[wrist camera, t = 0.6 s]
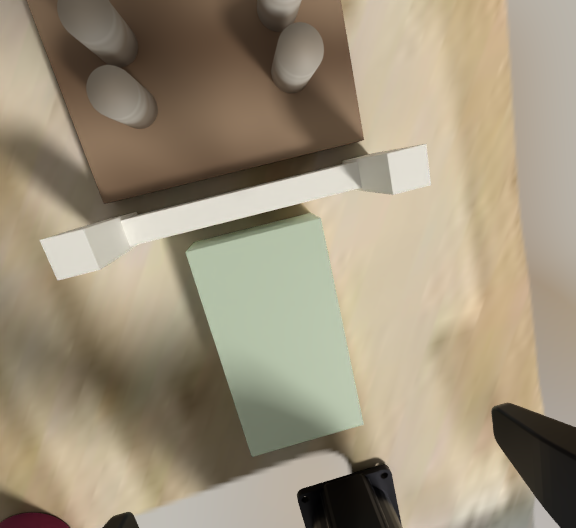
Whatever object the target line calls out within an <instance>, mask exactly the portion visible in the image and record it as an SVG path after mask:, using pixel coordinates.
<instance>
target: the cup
mask: <svg viewBox="0 0 576 528" xmlns="http://www.w3.org/2000/svg"><path fill="white" fill-rule="evenodd" d="M0 528H69V526H68V525H67V524H65V523H64V522H63V521H62V520H60V519H58V518H56V517H54V516H51V515H48V514H43V513H31V512H30V513H21V514H18V515H14V516H11V517H9V518H7V519H5V520H4V521H2V522H1V523H0Z"/></svg>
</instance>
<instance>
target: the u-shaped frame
mask: <svg viewBox="0 0 576 528" xmlns="http://www.w3.org/2000/svg"><path fill="white" fill-rule="evenodd" d="M342 163H343V164H340V165H336V166H331V167H327V168H323V169H319V170H315V171H311V172H307V173H303V174H299V175H295V176H291V177H287V178H283V179H279V180H275V181H271V182H267V183H263V184H259V185H255V186H251V187H247V188H243V189H239V190H235V191H231V192H227V193H223V194H219V195H215V196H211V197H207V198H203V199H199V200H195V201H191V202H187V203H183V204H179V205H175V206H171V207H166V208H162V209H158V210H154V211H150V212H146V213H142V214H138V215H137V212H134V213H130V214H126V215H122V216H118V217H114V218H110V219H106V220H103V221H100V222H96V223H93V224H90V225H87V226H83V227H80V228H77V229H74V230H70V231H67V232H64V233H61V234H57V235H54V236H51V237H48V238H45V239H41V240H40V242H41V244H42V246H43V249H44V251H45V253H46V255H47V258H48V260H49V262H50V264H51V267H52V269H53V271H54V273H55V276H56V278H57V280H62V279H66V278H69V277H73V276H77V275H81V274H85V273H89V272H93V271H97V270H100V269H102V268H103V267H105V266H106V265H108V264H110V263H111V262H113V261H114V260H116V259H117V258H119V257H120V256H122V255H124V254H125V253H127V252H128V251H130V250H131V249H133V248H135V247H136V246H138V245H139V244H142V243H146V242H150V241H154V240H157V239H161V238H165V237H169V236H173V235H177V234H181V233H185V232H189V231H193V230H197V229H201V228H205V227H209V226H213V225H217V224H221V223H225V222H229V221H232V220H236V219H240V218H244V217H248V216H252V215H256V214H260V213H264V212H268V211H272V210H276V209H280V208H284V207H288V206H292V205H296V204H300V203H304V202H307V201H311V200H315V199H319V198H323V197H327V196H331V195H335V194H339V193H343V192H347V191H351V190H360V191H368V192H376V193H384V194H392V195H394V194H398V193H402V192H406V191H409V190H413V189H417V188H421V187H425V186H429V185H431V180H430V172H429V163H428V155H427V147H426V144H423V145H417V146H412V147H406V148H401V149H395V150H389V151H384V152H378V153H373V154H368V155H364V156H360V157H356V158H352V159H348V160H344V161H342Z"/></svg>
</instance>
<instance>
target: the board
mask: <svg viewBox="0 0 576 528" xmlns="http://www.w3.org/2000/svg"><path fill="white" fill-rule="evenodd" d="M186 256H187V259H188V262H189V265H190V268H191V271H192V274H193V277H194V280H195V283H196V286H197V289H198V293H199V296H200V299H201V302H202V305H203V308H204V311H205V314H206V317H207V320H208V323H209V326H210V330H211V333H212V336H213V339H214V342H215V345H216V348H217V351H218V354H219V357H220V360H221V364H222V367H223V370H224V373H225V376H226V379H227V382H228V385H229V388H230V391H231V394H232V397H233V401H234V404H235V407H236V410H237V413H238V416H239V419H240V422H241V425H242V428H243V431H244V434H245V438H246V441H247V444H248V447H249V450H250V453H251V456H252V457H254V456H257V455H261V454H264V453H268V452H271V451H275V450H278V449H281V448H285V447H288V446H292V445H295V444H299V443H302V442H306V441H309V440H312V439H316V438H319V437H323V436H326V435H330V434H333V433H336V432H340V431H343V430H347V429H350V428H354V427H357V426H360V425H364V424H363V419H362V414H361V409H360V405H359V400H358V395H357V390H356V385H355V381H354V376H353V371H352V366H351V361H350V357H349V352H348V347H347V342H346V337H345V332H344V328H343V323H342V318H341V313H340V308H339V304H338V299H337V294H336V289H335V284H334V280H333V275H332V270H331V265H330V260H329V256H328V251H327V246H326V241H325V236H324V231H323V227H322V222H321V218H319V217H318V216H316V215H314V214H312V213H308V214H304V215H300V216H296V217H292V218H288V219H284V220H280V221H276V222H272V223H268V224H264V225H260V226H256V227H252V228H248V229H244V230H240V231H236V232H232V233H228V234H224V235H220V236H216V237H212V238H208V239H204V240H200V241H196V242H193V244H192V245H191V246H190V247H189V249H188V250H187V251H186Z"/></svg>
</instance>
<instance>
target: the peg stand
mask: <svg viewBox="0 0 576 528" xmlns="http://www.w3.org/2000/svg"><path fill="white" fill-rule="evenodd" d="M27 3H28V5H29V8H30V11H31V13H32V16H33V19H34V21H35V24H36V27H37V29H38V32H39V34H40V37H41V40H42V42H43V45H44V48H45V50H46V53H47V55H48V58H49V61H50V63H51V66H52V69H53V71H54V74H55V76H56V79H57V82H58V84H59V87H60V90H61V92H62V95H63V97H64V100H65V103H66V105H67V108H68V111H69V113H70V116H71V119H72V121H73V124H74V126H75V129H76V132H77V134H78V137H79V140H80V142H81V145H82V147H83V150H84V153H85V155H86V158H87V161H88V163H89V166H90V168H91V171H92V174H93V176H94V179H95V182H96V184H97V187H98V189H99V192H100V195H101V197H102V200H103V203H104V204H105V203H110V202H115V201H119V200H123V199H127V198H131V197H135V196H139V195H143V194H147V193H151V192H155V191H159V190H163V189H168V188H172V187H176V186H180V185H184V184H188V183H192V182H196V181H200V180H204V179H208V178H212V177H216V176H220V175H225V174H229V173H233V172H237V171H241V170H245V169H249V168H253V167H257V166H261V165H265V164H269V163H273V162H278V161H282V160H286V159H290V158H294V157H298V156H302V155H306V154H310V153H314V152H318V151H322V150H326V149H330V148H335V147H339V146H343V145H347V144H351V143H355V142H359V141H362V140H364V137H363V131H362V125H361V119H360V113H359V107H358V101H357V95H356V89H355V83H354V77H353V71H352V65H351V59H350V53H349V47H348V41H347V35H346V29H345V23H344V17H343V11H342V5H341V0H27Z"/></svg>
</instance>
